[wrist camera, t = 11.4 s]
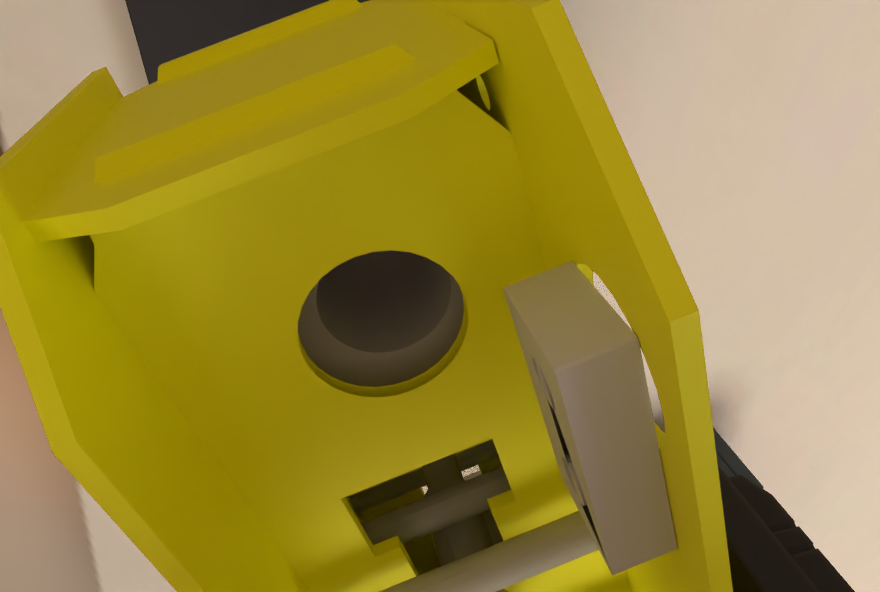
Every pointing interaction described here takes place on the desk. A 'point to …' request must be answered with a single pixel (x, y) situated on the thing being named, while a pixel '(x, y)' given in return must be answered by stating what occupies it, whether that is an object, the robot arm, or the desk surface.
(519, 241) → the yellow toy chassis
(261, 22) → the mat
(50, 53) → the desk surface
